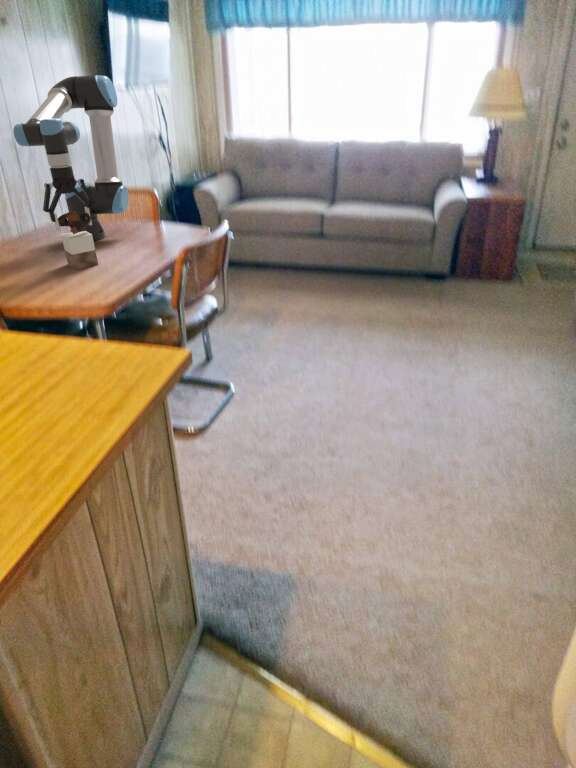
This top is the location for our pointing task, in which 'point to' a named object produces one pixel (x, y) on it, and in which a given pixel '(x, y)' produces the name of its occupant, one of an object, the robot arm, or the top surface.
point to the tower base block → (81, 259)
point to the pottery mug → (74, 221)
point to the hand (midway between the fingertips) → (74, 227)
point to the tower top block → (78, 242)
